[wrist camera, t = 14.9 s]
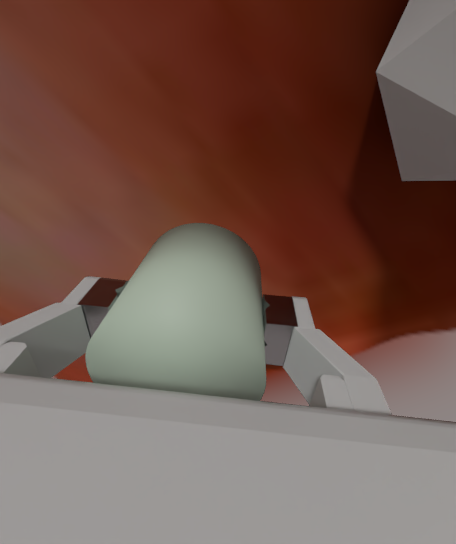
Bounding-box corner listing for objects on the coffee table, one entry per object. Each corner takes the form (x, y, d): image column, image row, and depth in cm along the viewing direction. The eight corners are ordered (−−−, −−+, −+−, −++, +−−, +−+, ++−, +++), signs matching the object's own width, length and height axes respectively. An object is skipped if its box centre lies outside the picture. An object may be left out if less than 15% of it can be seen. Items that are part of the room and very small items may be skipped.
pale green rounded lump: (124, 245, 11) (46, 336, 7) (236, 205, 10) (226, 284, 6) (178, 329, 13) (144, 437, 9) (274, 305, 12) (287, 415, 8)
